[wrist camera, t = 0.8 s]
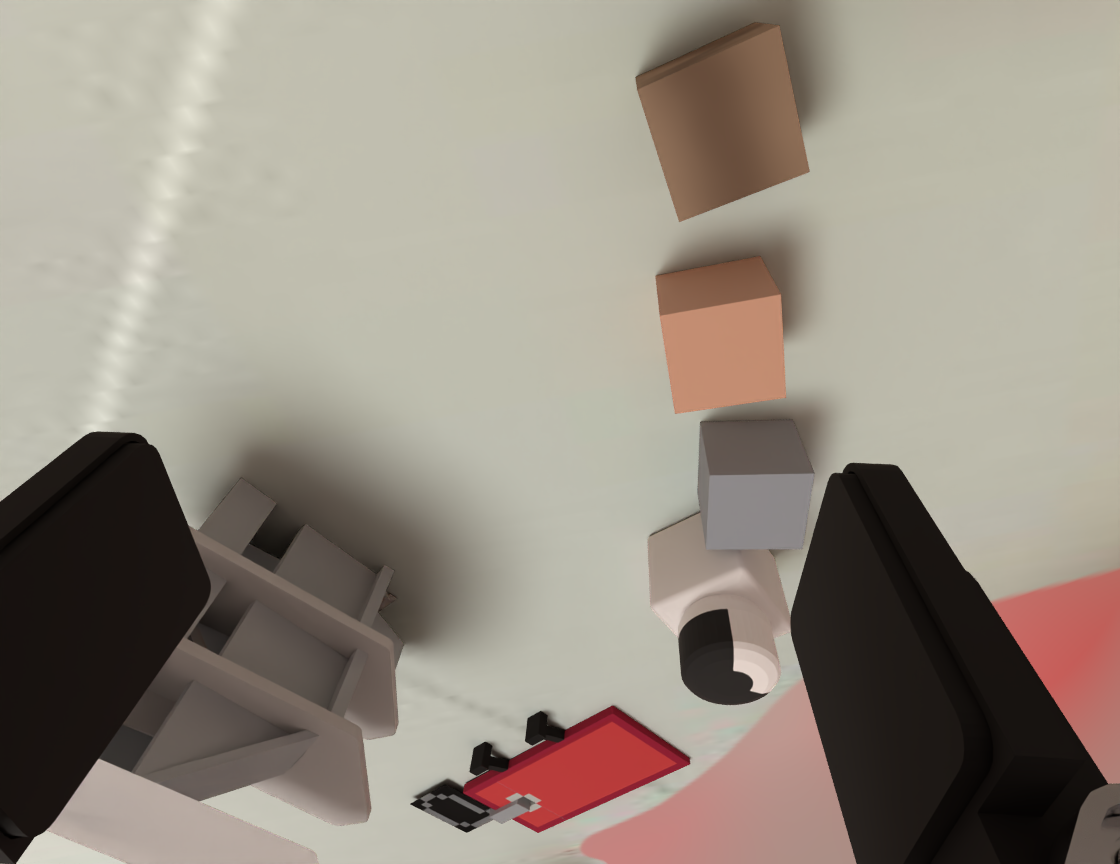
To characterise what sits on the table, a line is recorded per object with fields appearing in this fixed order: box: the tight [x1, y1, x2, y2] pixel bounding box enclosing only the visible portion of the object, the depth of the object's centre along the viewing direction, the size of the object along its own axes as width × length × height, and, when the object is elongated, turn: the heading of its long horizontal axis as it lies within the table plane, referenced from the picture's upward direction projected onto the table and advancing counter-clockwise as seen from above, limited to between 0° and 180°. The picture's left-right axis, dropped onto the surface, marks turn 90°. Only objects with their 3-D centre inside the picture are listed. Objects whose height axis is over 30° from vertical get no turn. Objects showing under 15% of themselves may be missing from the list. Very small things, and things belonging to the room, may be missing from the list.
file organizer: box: [47, 478, 404, 864], centre depth 46 cm, size 26×35×22 cm
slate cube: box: [698, 419, 814, 550], centre depth 42 cm, size 6×6×6 cm
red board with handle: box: [411, 706, 690, 833], centre depth 68 cm, size 30×3×15 cm
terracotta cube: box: [656, 256, 786, 414], centre depth 37 cm, size 6×6×6 cm
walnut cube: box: [636, 22, 810, 222], centre depth 31 cm, size 6×6×6 cm
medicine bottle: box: [648, 512, 791, 705], centre depth 44 cm, size 7×7×12 cm
